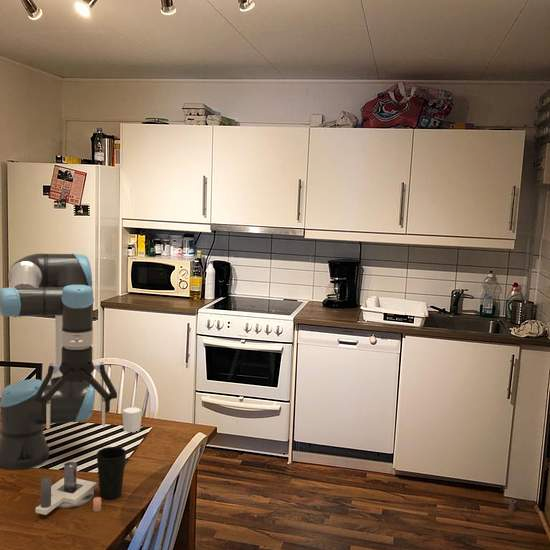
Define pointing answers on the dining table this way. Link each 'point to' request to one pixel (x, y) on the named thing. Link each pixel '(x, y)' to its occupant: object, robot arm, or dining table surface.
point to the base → (72, 485)
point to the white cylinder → (131, 419)
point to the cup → (111, 471)
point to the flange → (61, 494)
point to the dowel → (97, 504)
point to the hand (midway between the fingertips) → (76, 425)
